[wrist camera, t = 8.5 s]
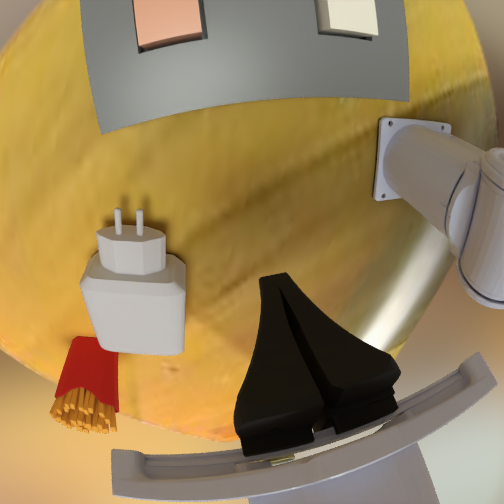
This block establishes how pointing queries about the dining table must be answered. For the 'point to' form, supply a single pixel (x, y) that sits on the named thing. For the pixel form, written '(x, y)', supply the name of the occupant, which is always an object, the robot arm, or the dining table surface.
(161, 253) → the charger
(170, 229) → the dining table surface
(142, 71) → the key box
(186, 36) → the terracotta key
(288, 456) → the ceramic cup
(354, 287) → the dining table surface
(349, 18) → the offwhite key
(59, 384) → the french fries
